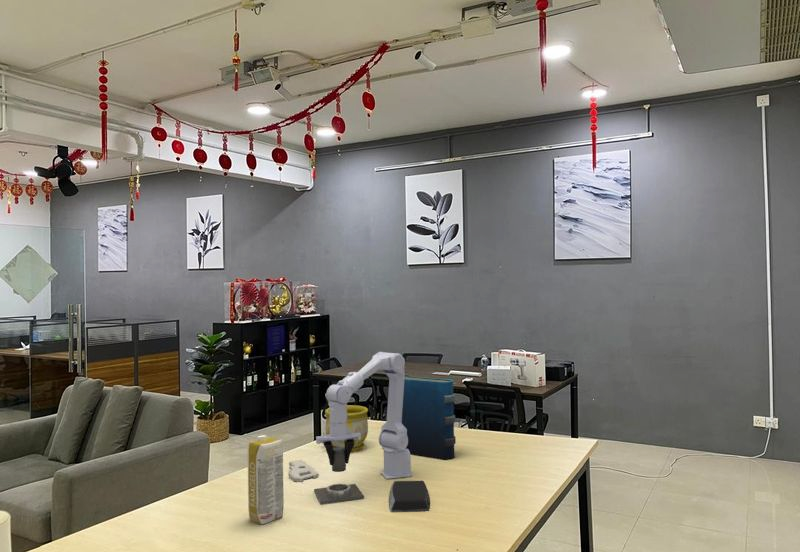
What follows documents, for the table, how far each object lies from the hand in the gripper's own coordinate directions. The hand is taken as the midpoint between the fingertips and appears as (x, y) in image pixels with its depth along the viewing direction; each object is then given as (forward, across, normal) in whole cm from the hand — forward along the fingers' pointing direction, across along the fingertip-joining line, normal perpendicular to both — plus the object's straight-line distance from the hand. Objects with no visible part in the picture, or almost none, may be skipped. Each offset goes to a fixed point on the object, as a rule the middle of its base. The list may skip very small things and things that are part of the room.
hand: (338, 463), depth 188 cm
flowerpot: (+10, -14, -52) cm, 55 cm away
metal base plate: (+10, 0, +1) cm, 10 cm away
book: (+10, -44, -32) cm, 55 cm away
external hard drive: (+11, -20, +13) cm, 26 cm away
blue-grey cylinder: (+2, 0, 0) cm, 2 cm away
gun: (+11, +9, -26) cm, 29 cm away
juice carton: (+10, +24, +12) cm, 29 cm away
